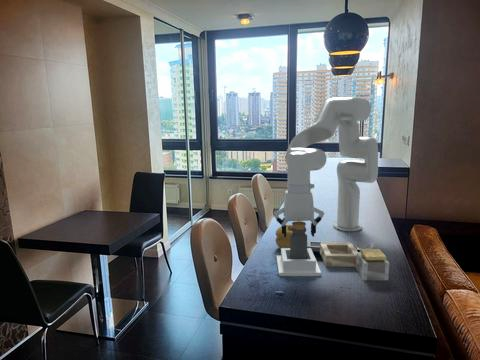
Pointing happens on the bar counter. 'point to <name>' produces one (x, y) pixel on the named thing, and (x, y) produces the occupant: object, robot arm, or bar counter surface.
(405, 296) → the bar counter surface
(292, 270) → the cradle
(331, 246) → the socket block
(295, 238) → the bottle
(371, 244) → the pliers
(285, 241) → the pot
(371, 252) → the button
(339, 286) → the bar counter surface
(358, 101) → the robot arm
